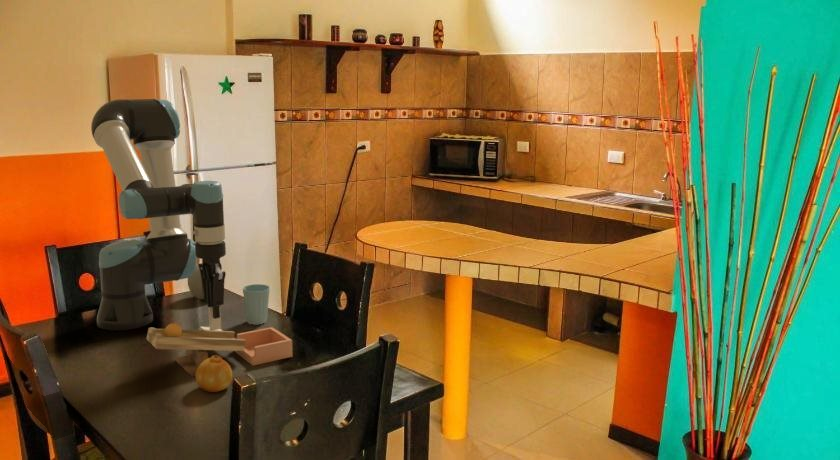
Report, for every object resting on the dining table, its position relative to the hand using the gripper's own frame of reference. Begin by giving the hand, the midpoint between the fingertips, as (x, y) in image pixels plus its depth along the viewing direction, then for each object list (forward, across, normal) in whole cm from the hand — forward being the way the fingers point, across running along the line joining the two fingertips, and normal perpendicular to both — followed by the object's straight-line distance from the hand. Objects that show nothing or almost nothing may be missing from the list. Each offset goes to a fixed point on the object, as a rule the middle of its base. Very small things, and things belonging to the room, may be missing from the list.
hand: (215, 328), depth 195 cm
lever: (0, +5, -8) cm, 10 cm away
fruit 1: (+5, -45, +14) cm, 47 cm away
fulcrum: (+5, +9, -8) cm, 13 cm away
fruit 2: (+6, +25, -10) cm, 27 cm away
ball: (-5, +9, -14) cm, 17 cm away
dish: (+6, +11, +8) cm, 15 cm away
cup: (+6, -14, +18) cm, 23 cm away
